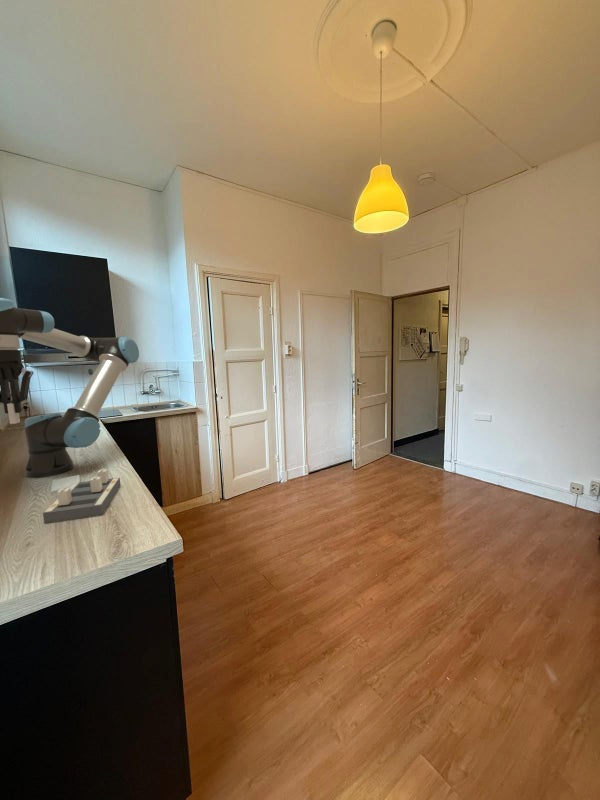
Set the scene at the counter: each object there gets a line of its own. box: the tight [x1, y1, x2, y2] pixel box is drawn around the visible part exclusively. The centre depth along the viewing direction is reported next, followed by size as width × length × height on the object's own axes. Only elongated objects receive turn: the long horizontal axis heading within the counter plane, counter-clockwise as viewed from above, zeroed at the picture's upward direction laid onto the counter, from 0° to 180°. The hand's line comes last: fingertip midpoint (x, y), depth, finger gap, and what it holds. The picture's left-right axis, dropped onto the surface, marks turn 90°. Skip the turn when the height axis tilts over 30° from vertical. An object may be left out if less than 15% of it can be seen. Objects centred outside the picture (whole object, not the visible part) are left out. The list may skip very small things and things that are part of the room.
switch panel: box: [42, 477, 121, 524], centre depth 99 cm, size 22×14×3 cm, turn 17°
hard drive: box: [50, 474, 81, 494], centre depth 113 cm, size 2×8×12 cm
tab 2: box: [89, 475, 102, 493], centre depth 99 cm, size 2×2×4 cm
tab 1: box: [56, 487, 72, 506], centre depth 91 cm, size 2×2×4 cm
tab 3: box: [96, 468, 109, 484], centre depth 106 cm, size 2×2×4 cm
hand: (15, 422), depth 102 cm, fingers closed
